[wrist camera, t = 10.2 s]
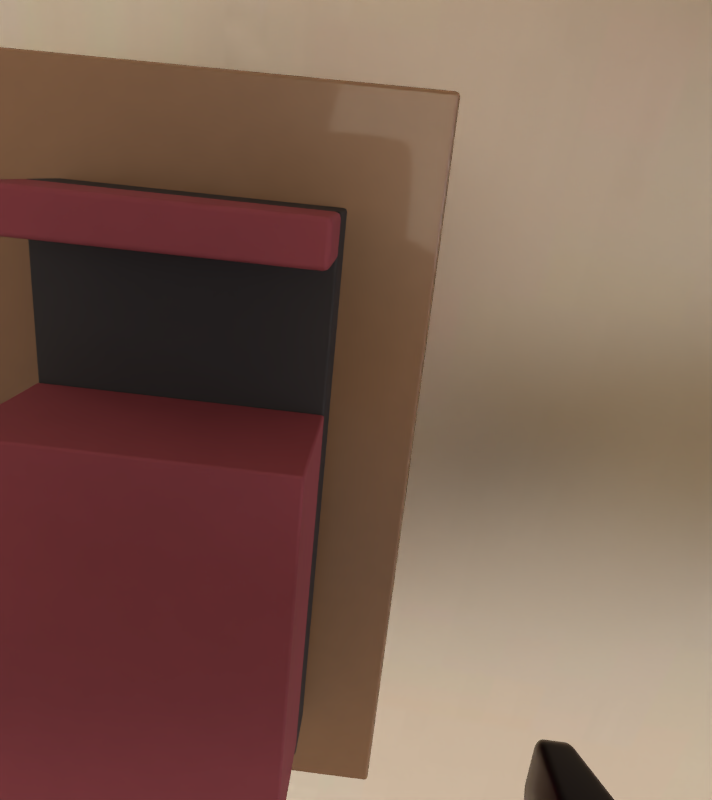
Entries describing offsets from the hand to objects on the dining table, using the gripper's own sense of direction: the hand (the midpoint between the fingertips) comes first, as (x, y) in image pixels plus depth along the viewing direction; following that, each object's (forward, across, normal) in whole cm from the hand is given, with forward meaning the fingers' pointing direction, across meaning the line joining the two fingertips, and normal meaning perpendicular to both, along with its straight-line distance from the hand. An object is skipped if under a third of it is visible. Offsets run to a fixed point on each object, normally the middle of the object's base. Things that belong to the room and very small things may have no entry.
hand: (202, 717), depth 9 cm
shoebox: (+13, +2, 0) cm, 13 cm away
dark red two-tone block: (+6, +2, 0) cm, 6 cm away
